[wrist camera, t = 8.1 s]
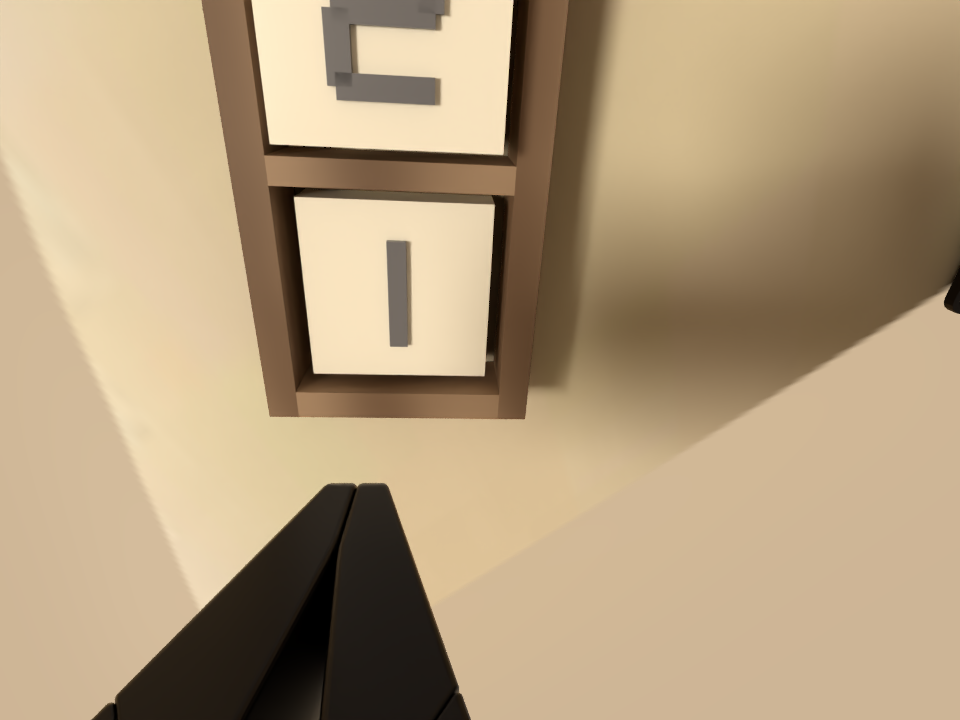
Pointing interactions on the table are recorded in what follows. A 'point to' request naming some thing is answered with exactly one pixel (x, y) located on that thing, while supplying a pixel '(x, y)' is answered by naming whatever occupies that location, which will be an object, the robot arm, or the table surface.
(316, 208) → the tile
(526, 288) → the tile rack
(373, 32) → the tile
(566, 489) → the table surface
